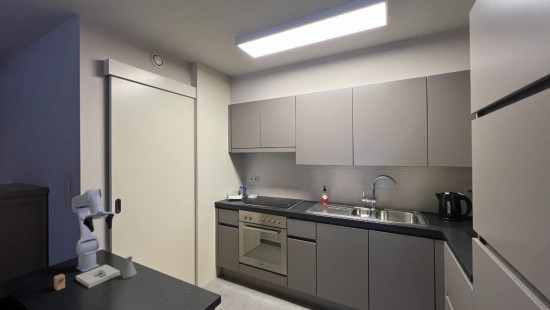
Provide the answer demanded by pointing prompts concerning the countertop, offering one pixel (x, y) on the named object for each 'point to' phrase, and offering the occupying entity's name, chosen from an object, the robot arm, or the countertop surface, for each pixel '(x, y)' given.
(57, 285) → the plug
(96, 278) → the socket
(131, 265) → the flask
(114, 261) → the countertop surface
